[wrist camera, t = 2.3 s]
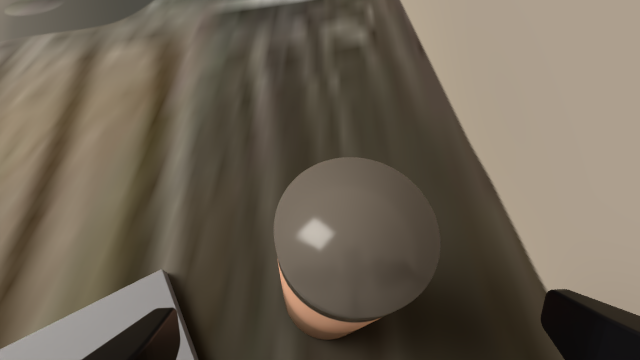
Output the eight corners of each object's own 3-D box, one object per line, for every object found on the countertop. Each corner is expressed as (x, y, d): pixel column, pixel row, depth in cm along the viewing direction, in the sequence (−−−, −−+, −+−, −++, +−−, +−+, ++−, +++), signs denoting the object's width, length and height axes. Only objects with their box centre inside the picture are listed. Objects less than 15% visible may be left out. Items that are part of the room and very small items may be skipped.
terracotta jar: (379, 328, 17) (469, 294, 8) (292, 349, 16) (289, 337, 7) (355, 243, 19) (405, 147, 11) (277, 259, 18) (263, 169, 10)
